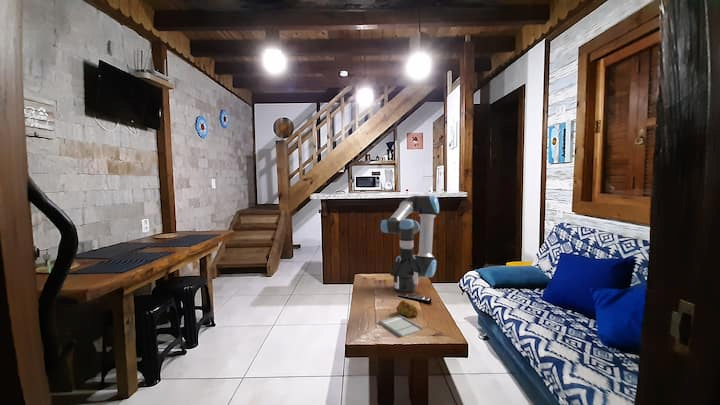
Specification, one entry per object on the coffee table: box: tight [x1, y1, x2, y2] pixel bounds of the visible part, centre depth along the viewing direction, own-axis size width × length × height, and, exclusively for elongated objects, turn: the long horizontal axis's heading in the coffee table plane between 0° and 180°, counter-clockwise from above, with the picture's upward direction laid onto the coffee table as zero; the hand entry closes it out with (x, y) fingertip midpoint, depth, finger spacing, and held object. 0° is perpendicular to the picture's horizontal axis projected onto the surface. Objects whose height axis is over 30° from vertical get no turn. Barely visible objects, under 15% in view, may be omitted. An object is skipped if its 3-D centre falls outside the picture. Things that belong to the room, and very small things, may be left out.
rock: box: [396, 299, 419, 318], centre depth 169 cm, size 11×8×10 cm
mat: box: [378, 314, 423, 338], centre depth 155 cm, size 14×18×1 cm
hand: (406, 286), depth 168 cm, fingers open, 13 cm apart
